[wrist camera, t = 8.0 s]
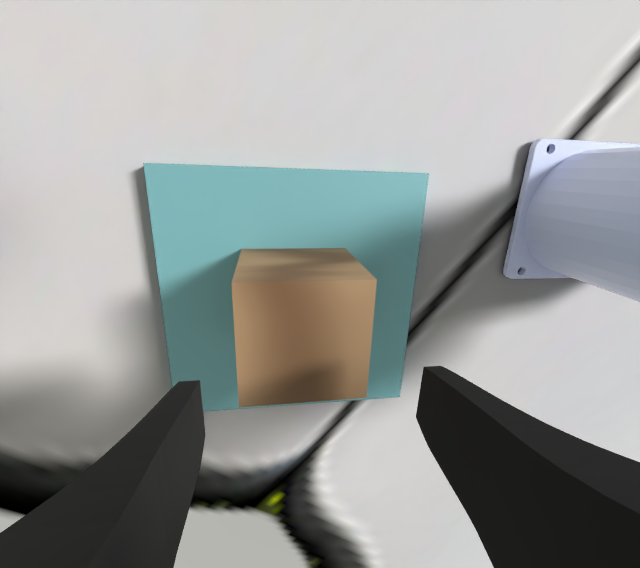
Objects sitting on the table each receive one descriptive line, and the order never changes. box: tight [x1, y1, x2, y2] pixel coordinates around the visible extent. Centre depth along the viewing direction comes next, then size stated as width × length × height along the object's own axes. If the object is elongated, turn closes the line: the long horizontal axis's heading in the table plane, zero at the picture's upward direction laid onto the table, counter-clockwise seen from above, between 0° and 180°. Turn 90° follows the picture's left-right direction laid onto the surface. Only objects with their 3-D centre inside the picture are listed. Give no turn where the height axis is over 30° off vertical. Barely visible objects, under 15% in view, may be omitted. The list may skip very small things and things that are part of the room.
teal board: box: [143, 163, 429, 411], centre depth 19 cm, size 14×14×1 cm
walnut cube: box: [232, 248, 377, 408], centre depth 16 cm, size 6×6×6 cm
